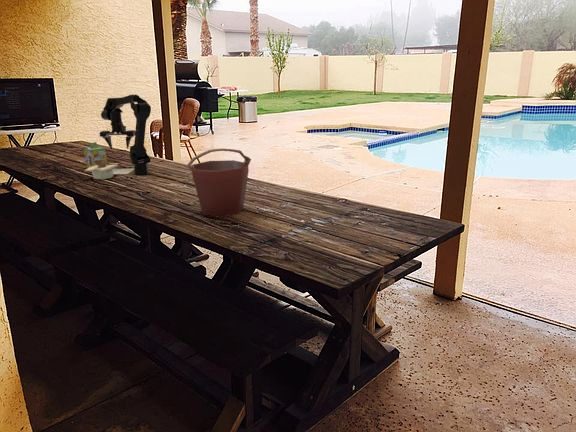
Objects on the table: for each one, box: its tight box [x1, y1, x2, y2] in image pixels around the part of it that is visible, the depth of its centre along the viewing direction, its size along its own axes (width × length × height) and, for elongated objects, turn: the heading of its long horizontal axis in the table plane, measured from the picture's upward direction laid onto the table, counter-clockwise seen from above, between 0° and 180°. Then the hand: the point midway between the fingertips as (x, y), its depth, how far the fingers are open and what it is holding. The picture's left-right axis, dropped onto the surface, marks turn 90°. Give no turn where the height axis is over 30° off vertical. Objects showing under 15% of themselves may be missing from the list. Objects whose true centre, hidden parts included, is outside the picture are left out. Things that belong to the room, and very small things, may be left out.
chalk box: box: [83, 141, 108, 169], centre depth 286 cm, size 9×9×15 cm
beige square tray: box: [84, 159, 119, 172], centre depth 258 cm, size 13×13×5 cm
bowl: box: [91, 169, 114, 180], centre depth 259 cm, size 10×10×5 cm
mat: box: [113, 167, 135, 175], centre depth 274 cm, size 15×15×1 cm
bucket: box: [187, 148, 252, 218], centre depth 191 cm, size 24×22×25 cm
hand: (119, 148), depth 274 cm, fingers open, 9 cm apart
